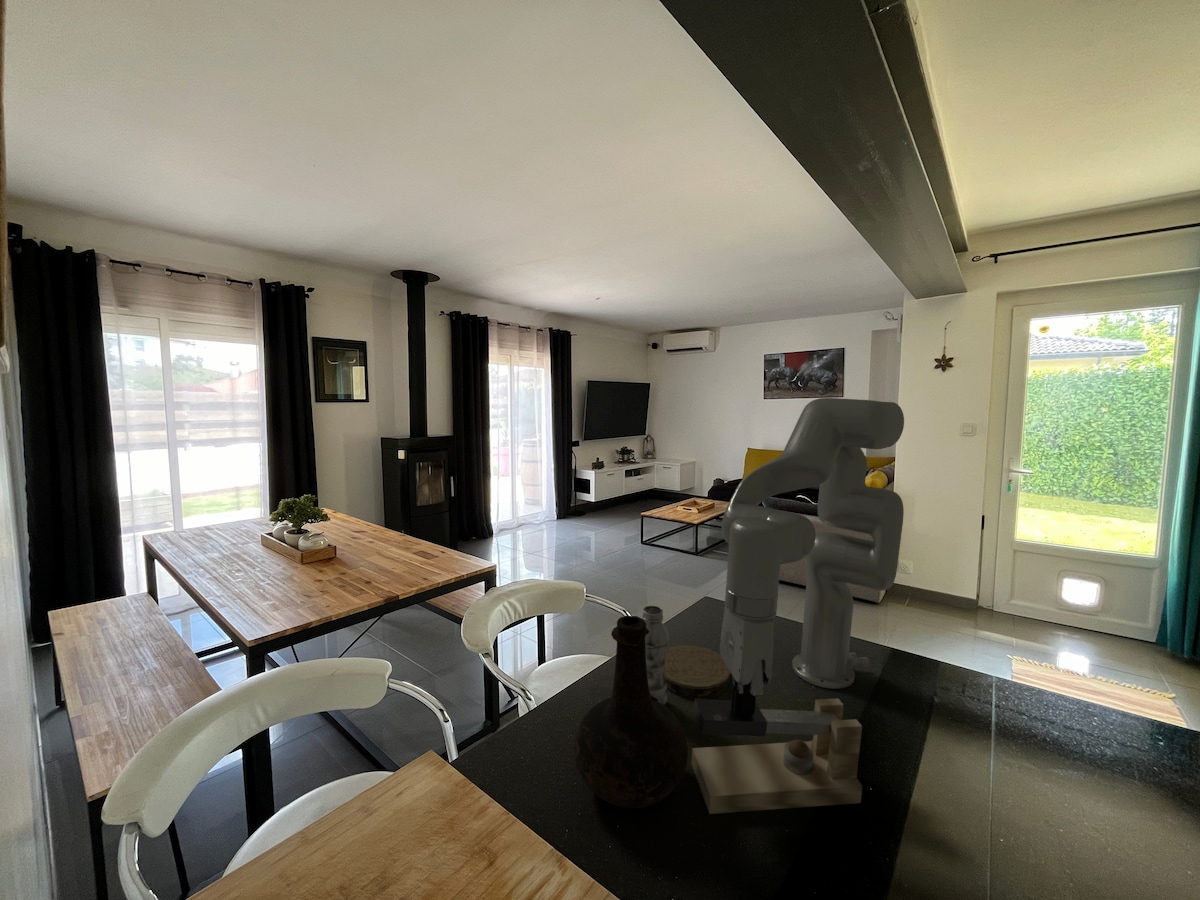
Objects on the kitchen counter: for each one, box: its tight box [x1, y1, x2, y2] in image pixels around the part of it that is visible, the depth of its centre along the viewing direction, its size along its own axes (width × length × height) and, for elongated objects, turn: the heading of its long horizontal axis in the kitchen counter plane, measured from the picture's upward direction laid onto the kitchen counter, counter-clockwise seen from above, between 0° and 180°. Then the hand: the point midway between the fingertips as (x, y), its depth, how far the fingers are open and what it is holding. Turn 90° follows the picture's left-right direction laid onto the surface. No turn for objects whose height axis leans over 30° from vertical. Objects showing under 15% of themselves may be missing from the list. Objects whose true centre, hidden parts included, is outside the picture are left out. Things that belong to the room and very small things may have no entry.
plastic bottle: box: [641, 605, 670, 706], centre depth 103 cm, size 6×7×20 cm
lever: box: [692, 698, 839, 740], centre depth 84 cm, size 23×5×3 cm, turn 96°
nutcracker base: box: [691, 698, 863, 815], centre depth 85 cm, size 24×10×12 cm, turn 96°
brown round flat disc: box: [665, 644, 731, 700], centre depth 114 cm, size 16×16×3 cm
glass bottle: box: [573, 615, 689, 809], centre depth 83 cm, size 18×18×28 cm
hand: (742, 711), depth 82 cm, fingers closed
